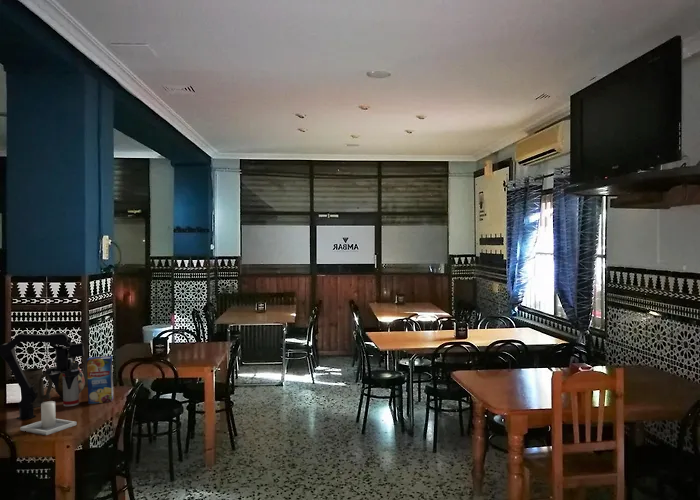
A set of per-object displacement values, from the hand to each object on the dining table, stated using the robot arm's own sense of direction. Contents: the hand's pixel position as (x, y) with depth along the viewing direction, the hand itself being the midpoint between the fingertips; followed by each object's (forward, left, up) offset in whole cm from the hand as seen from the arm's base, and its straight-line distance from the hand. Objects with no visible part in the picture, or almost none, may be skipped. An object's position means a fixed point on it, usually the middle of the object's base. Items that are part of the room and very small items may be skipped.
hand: (63, 388), depth 302 cm
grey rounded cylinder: (+14, -19, -12) cm, 27 cm away
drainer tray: (+14, -19, -13) cm, 27 cm away
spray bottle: (-12, +14, -13) cm, 23 cm away
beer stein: (-28, +6, -13) cm, 32 cm away
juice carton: (-2, +25, -13) cm, 28 cm away
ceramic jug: (-26, +25, -13) cm, 38 cm away
